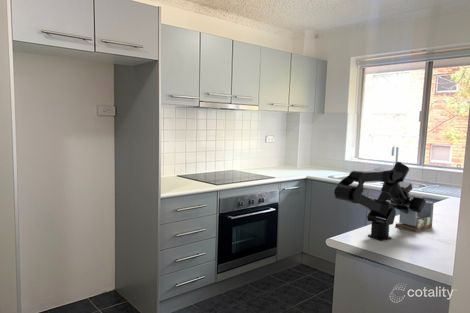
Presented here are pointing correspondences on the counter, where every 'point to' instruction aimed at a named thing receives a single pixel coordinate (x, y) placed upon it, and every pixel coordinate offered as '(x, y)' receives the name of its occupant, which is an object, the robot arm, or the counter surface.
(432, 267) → the counter surface
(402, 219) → the pale blue shelf board
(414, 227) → the gauge frame
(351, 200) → the robot arm
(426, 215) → the brushed steel plate
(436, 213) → the counter surface
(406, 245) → the counter surface
